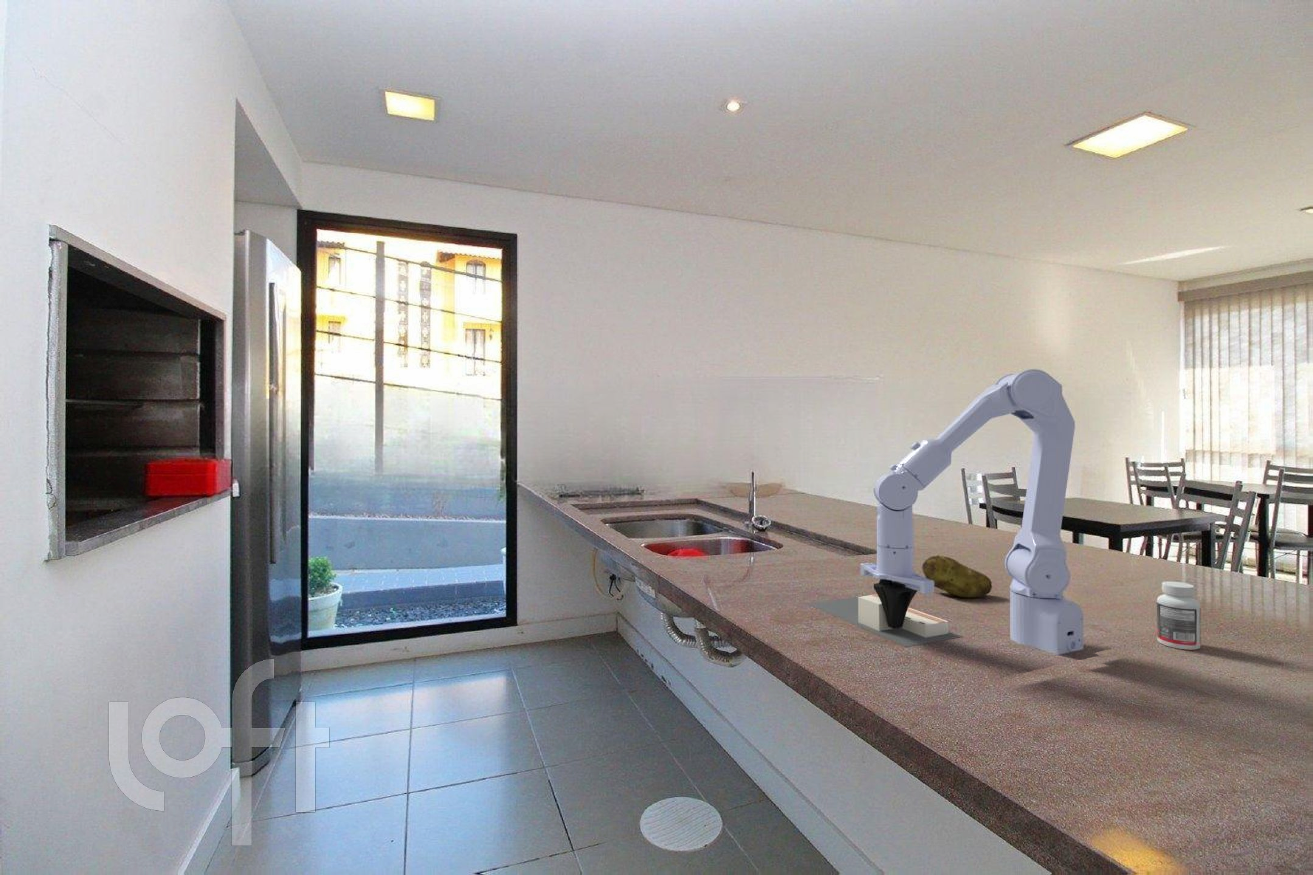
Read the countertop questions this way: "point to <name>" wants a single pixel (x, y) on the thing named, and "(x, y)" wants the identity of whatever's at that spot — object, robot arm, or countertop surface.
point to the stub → (872, 612)
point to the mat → (849, 613)
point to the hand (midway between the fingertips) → (895, 626)
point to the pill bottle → (1178, 616)
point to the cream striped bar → (924, 624)
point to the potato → (956, 577)
